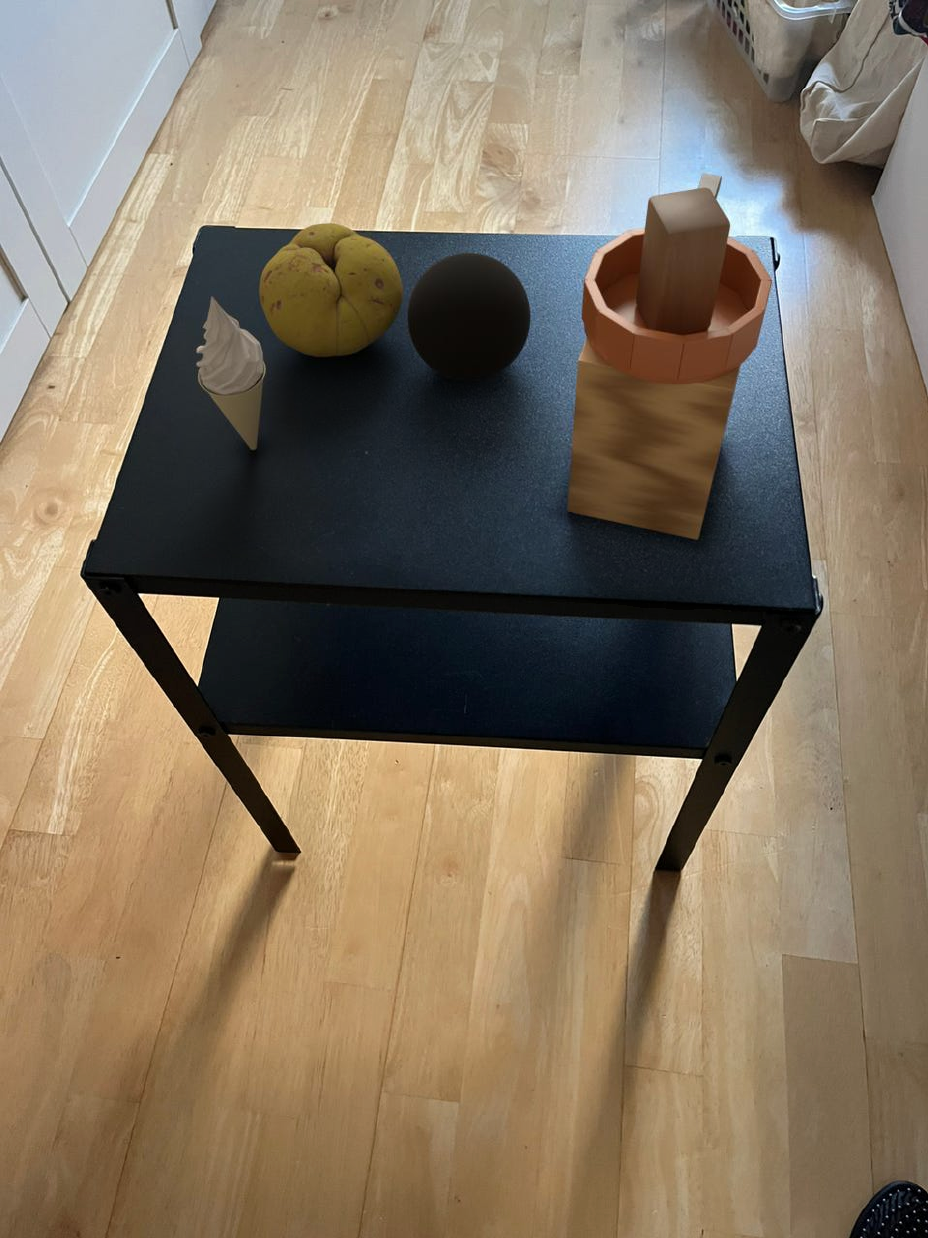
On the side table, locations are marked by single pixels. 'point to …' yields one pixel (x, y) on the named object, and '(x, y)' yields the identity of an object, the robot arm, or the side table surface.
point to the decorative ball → (468, 317)
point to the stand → (645, 446)
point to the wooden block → (681, 260)
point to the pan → (666, 355)
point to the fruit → (330, 291)
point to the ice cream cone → (232, 372)
